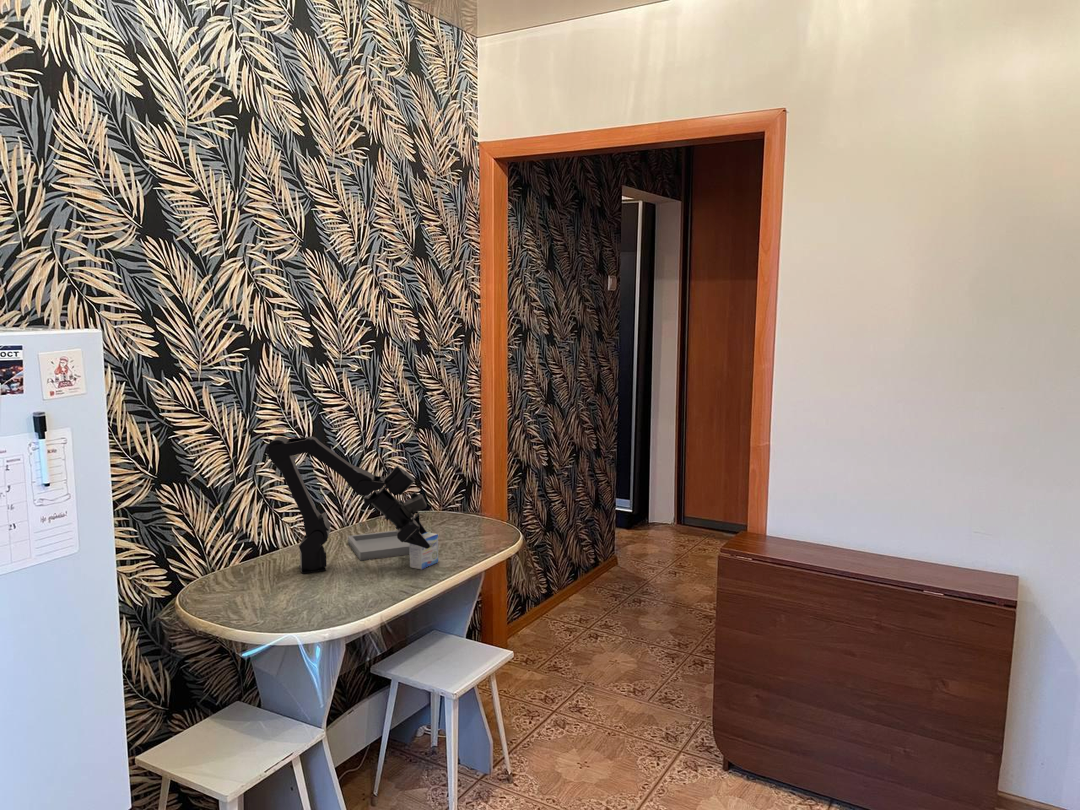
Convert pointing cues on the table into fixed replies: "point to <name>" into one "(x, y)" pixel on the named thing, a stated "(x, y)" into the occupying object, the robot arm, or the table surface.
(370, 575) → the table surface
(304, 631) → the table surface
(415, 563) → the medicine box
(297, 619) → the table surface
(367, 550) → the tray
